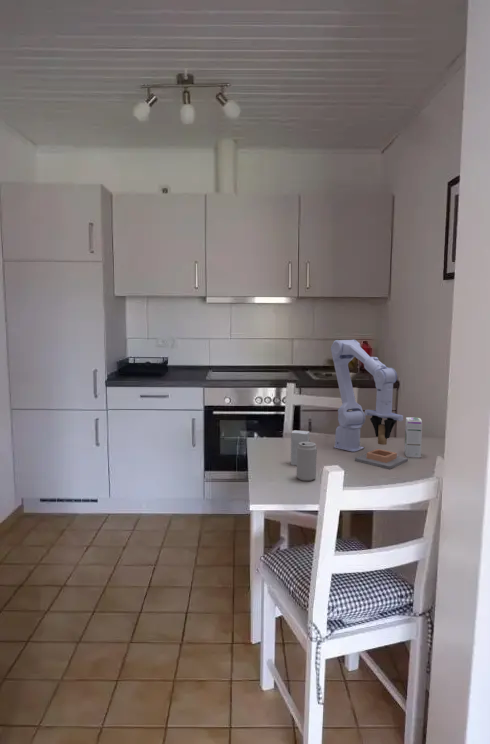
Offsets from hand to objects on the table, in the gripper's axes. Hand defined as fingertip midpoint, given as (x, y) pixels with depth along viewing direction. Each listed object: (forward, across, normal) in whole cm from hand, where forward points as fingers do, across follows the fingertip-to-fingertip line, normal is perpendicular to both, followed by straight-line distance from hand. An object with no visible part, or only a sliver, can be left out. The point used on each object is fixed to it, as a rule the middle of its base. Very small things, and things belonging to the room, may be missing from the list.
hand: (382, 437), depth 190 cm
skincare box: (+9, -19, -25) cm, 33 cm away
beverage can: (+9, -8, -36) cm, 38 cm away
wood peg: (+2, 0, 0) cm, 2 cm away
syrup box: (+9, +5, +15) cm, 18 cm away
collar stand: (+9, 0, 0) cm, 9 cm away
